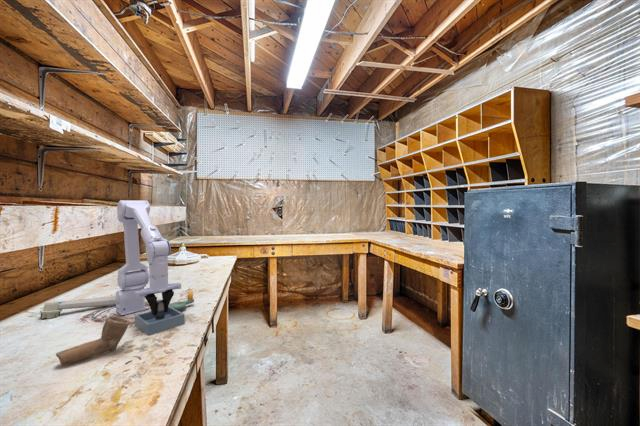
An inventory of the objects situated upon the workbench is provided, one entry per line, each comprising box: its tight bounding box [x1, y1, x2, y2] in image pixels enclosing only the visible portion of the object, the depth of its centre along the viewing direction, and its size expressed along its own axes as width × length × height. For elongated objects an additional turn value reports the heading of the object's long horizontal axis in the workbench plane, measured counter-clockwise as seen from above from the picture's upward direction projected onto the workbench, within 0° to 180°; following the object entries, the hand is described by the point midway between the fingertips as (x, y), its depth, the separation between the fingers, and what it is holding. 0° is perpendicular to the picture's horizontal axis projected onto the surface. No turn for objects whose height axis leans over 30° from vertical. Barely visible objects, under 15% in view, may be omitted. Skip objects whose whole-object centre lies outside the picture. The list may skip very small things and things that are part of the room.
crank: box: [169, 290, 195, 310], centre depth 119 cm, size 10×6×5 cm, turn 152°
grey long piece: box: [39, 294, 116, 320], centre depth 117 cm, size 5×7×25 cm
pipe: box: [55, 316, 130, 366], centre depth 83 cm, size 6×17×10 cm, turn 133°
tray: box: [134, 306, 186, 336], centre depth 104 cm, size 12×12×4 cm
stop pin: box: [155, 299, 165, 320], centre depth 104 cm, size 3×3×6 cm
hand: (159, 313), depth 104 cm, fingers closed on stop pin, 3 cm apart
